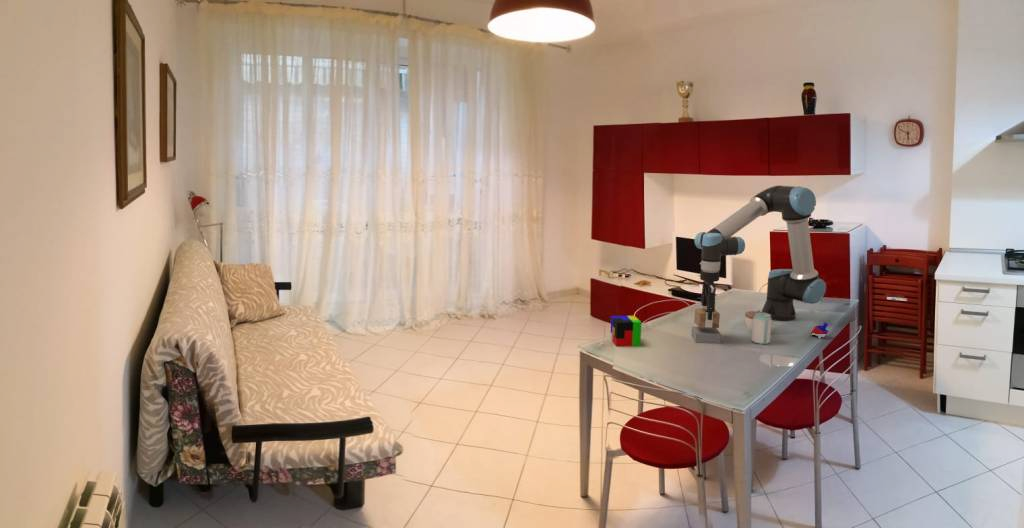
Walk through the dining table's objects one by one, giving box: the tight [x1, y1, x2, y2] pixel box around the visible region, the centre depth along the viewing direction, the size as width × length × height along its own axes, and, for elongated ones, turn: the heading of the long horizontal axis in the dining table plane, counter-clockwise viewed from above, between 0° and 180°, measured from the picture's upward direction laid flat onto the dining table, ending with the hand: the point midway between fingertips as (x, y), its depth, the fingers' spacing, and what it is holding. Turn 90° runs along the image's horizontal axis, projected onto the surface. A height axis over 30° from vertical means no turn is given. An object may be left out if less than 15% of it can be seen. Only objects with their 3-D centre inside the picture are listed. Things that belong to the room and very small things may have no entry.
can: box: [751, 313, 773, 345], centre depth 258 cm, size 7×7×12 cm
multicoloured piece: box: [810, 322, 829, 335], centre depth 265 cm, size 4×4×8 cm
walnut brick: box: [693, 308, 721, 329], centre depth 260 cm, size 8×8×6 cm
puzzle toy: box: [609, 315, 642, 347], centre depth 257 cm, size 10×10×10 cm
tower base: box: [690, 326, 722, 344], centre depth 262 cm, size 10×10×4 cm
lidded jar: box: [744, 310, 771, 333], centre depth 273 cm, size 11×11×9 cm
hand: (706, 324), depth 261 cm, fingers closed on walnut brick, 8 cm apart
